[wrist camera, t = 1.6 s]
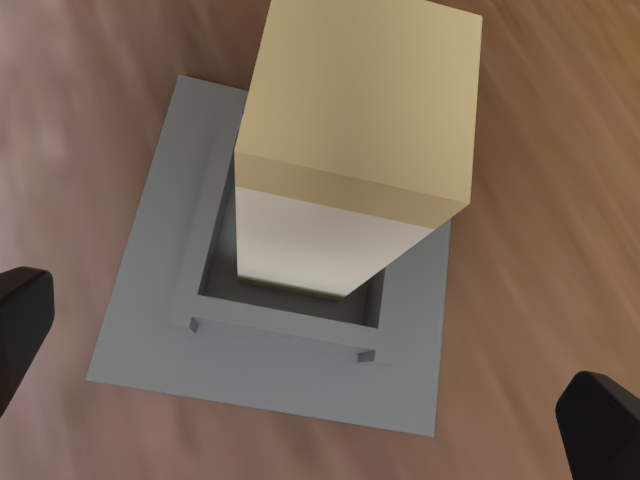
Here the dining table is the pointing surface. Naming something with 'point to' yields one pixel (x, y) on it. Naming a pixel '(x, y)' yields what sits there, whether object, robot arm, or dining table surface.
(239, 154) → the white tall block
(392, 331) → the grey square socket base
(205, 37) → the dining table surface
